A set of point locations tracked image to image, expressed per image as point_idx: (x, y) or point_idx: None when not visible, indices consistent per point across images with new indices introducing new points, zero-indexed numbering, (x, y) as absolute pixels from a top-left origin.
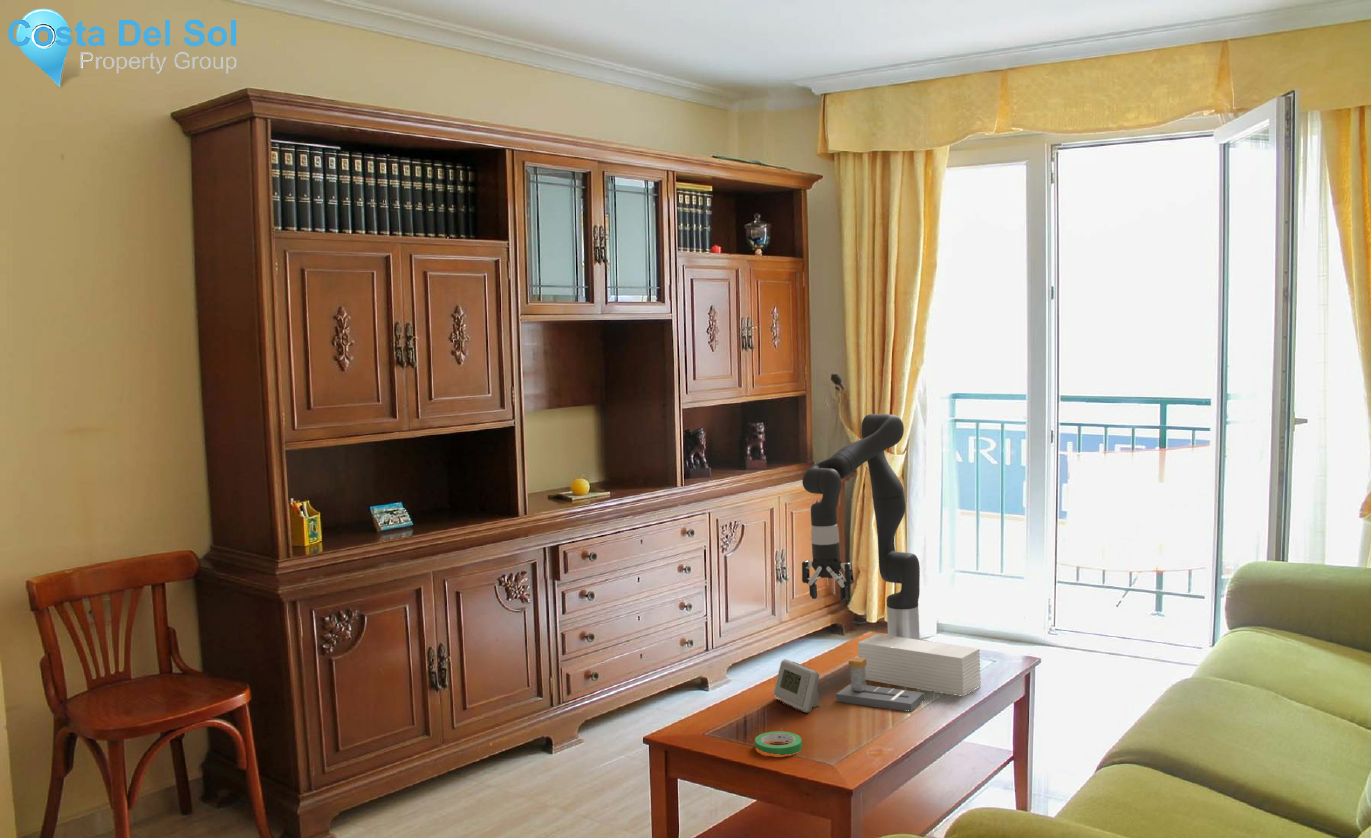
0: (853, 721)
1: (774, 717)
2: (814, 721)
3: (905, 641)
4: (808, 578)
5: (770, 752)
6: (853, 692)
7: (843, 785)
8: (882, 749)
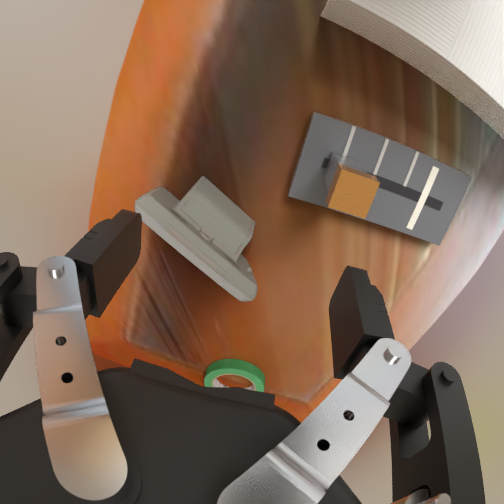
0: (331, 291)
1: (189, 284)
2: (263, 297)
3: (476, 4)
4: (18, 307)
5: None
6: None
7: None
8: None
